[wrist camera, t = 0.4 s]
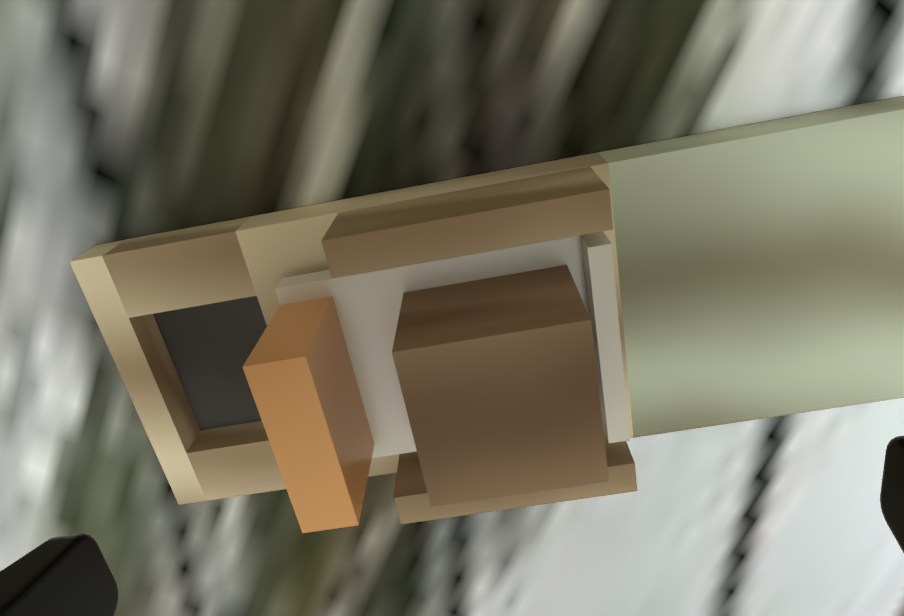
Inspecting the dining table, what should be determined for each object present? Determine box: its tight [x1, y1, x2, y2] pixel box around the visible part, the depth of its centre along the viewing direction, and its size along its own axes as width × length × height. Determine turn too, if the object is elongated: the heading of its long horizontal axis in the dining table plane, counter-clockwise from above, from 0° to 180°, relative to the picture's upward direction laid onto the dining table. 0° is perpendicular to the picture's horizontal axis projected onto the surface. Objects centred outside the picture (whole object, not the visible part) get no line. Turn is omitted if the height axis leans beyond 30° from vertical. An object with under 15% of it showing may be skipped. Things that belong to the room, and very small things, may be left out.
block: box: [392, 265, 609, 507], centre depth 17 cm, size 4×4×4 cm
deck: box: [70, 96, 904, 524], centre depth 19 cm, size 9×24×4 cm, turn 101°
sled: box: [243, 231, 630, 533], centre depth 18 cm, size 6×9×4 cm, turn 101°
